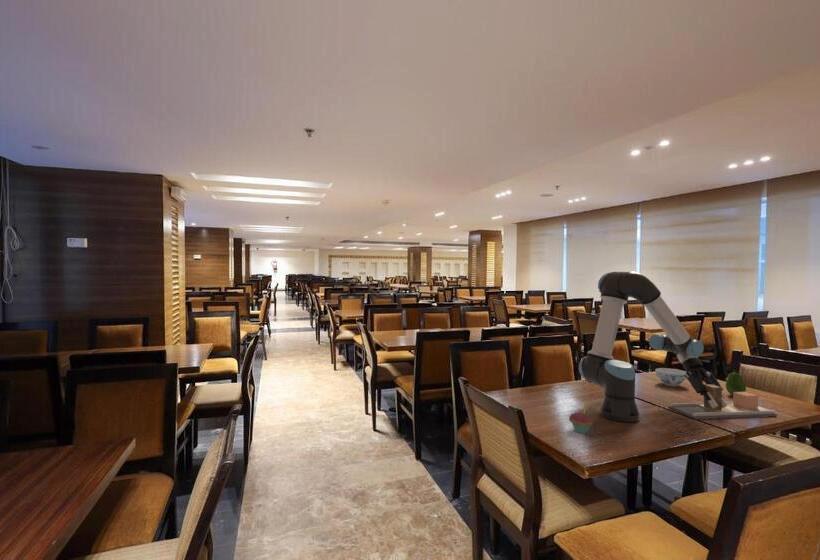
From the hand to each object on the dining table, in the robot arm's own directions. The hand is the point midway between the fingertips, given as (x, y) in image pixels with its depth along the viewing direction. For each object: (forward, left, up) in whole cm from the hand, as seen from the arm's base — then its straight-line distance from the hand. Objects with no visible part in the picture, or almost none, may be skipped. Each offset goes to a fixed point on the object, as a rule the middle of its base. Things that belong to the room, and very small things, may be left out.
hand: (720, 406), depth 171 cm
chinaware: (-10, +49, -4) cm, 50 cm away
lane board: (+2, +5, -4) cm, 7 cm away
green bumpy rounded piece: (+16, +38, -4) cm, 41 cm away
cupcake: (-55, -45, -4) cm, 71 cm away
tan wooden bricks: (+7, +8, -3) cm, 11 cm away
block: (+12, +11, -2) cm, 17 cm away
